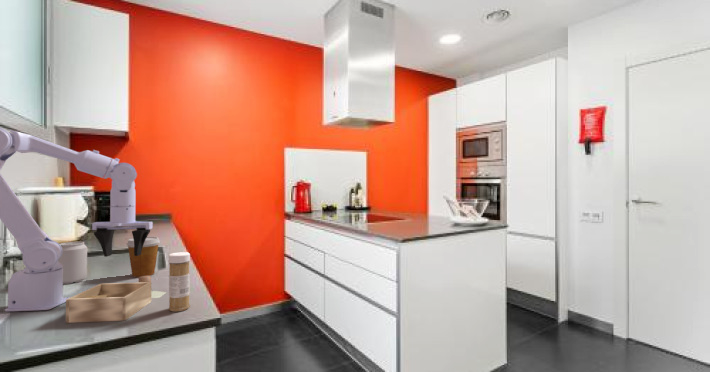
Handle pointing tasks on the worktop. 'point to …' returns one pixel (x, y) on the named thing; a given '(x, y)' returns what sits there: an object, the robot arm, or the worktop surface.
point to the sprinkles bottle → (179, 281)
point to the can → (73, 262)
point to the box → (108, 302)
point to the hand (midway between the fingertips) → (122, 255)
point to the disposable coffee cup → (144, 257)
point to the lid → (153, 293)
